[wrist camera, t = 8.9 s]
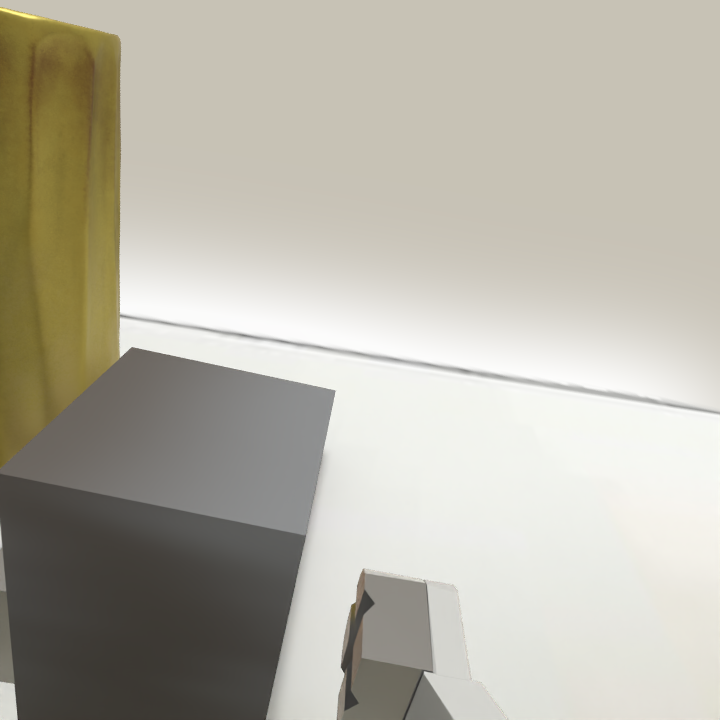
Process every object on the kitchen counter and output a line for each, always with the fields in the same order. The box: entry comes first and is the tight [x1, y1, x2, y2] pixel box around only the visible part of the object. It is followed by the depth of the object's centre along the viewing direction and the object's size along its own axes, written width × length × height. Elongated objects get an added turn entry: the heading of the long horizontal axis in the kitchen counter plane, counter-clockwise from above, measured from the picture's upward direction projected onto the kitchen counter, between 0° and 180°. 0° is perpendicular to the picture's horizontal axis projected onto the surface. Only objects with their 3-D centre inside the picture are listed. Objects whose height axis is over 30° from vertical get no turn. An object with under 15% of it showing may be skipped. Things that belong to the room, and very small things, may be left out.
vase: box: [0, 7, 121, 468], centre depth 16 cm, size 6×6×14 cm
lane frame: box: [0, 347, 335, 720], centre depth 15 cm, size 14×16×10 cm
